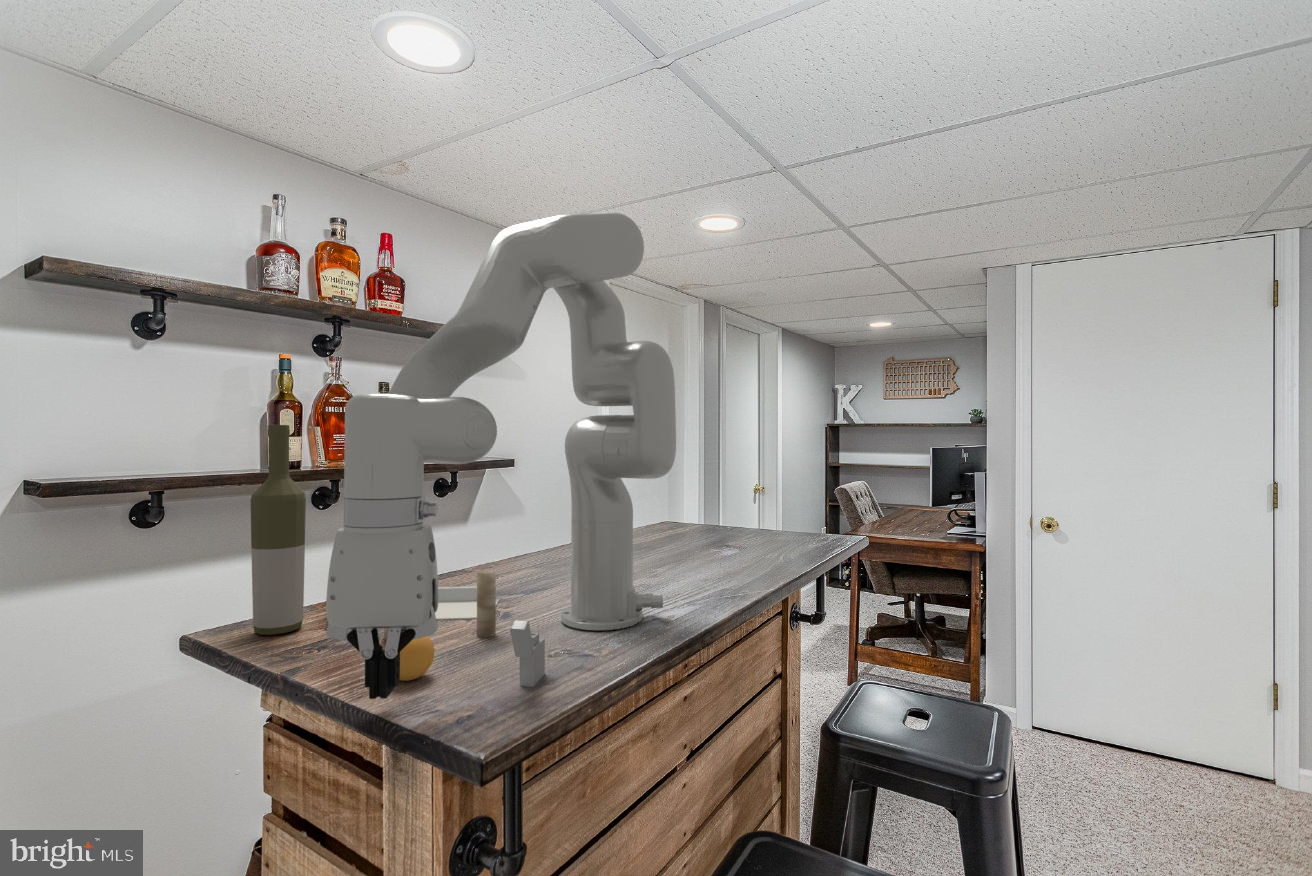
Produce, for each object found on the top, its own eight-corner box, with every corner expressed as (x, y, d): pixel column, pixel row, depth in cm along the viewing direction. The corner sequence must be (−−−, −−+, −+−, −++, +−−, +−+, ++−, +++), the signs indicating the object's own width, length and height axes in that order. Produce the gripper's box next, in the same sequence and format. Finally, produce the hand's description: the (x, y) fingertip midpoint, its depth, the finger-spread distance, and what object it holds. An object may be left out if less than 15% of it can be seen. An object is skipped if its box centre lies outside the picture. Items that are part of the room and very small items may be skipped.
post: (496, 631, 93) (496, 569, 93) (494, 637, 90) (494, 573, 90) (478, 632, 92) (478, 570, 92) (475, 637, 90) (475, 574, 90)
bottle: (295, 637, 90) (295, 424, 90) (240, 639, 89) (241, 424, 89) (313, 622, 97) (313, 425, 97) (263, 624, 96) (263, 425, 96)
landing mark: (499, 600, 110) (499, 599, 110) (489, 618, 100) (489, 616, 100) (433, 601, 109) (433, 600, 109) (416, 620, 98) (416, 618, 98)
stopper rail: (496, 600, 110) (496, 585, 110) (495, 601, 109) (495, 587, 109) (436, 601, 109) (436, 587, 109) (435, 603, 108) (435, 588, 108)
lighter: (531, 672, 77) (531, 606, 77) (545, 673, 76) (545, 606, 76) (509, 696, 70) (509, 623, 70) (524, 697, 69) (524, 623, 69)
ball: (439, 669, 78) (439, 623, 78) (427, 687, 72) (427, 637, 72) (391, 670, 77) (391, 624, 77) (376, 689, 71) (376, 639, 71)
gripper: (465, 510, 70) (464, 677, 70) (323, 511, 68) (321, 682, 68) (451, 518, 63) (449, 706, 62) (290, 519, 61) (288, 711, 61)
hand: (382, 693), depth 65 cm, fingers closed
